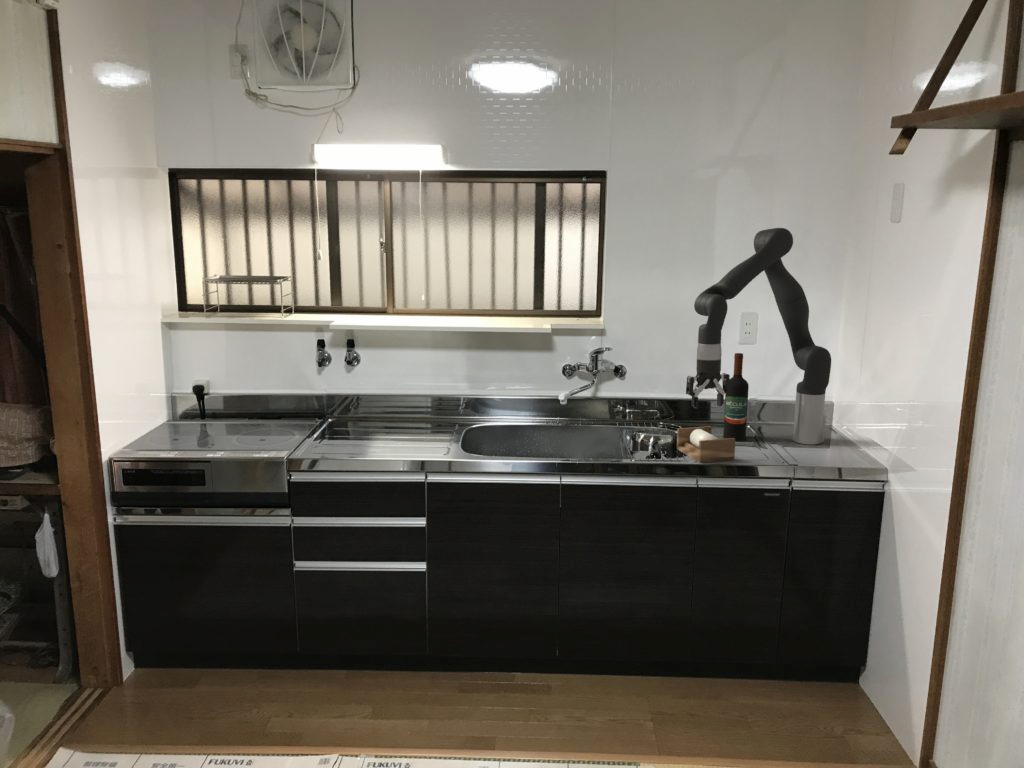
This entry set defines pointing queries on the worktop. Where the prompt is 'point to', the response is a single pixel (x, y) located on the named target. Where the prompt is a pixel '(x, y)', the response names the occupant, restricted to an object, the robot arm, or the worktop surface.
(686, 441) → the walnut cradle
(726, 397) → the wine bottle
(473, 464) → the worktop surface
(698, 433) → the white cylinder
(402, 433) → the worktop surface
